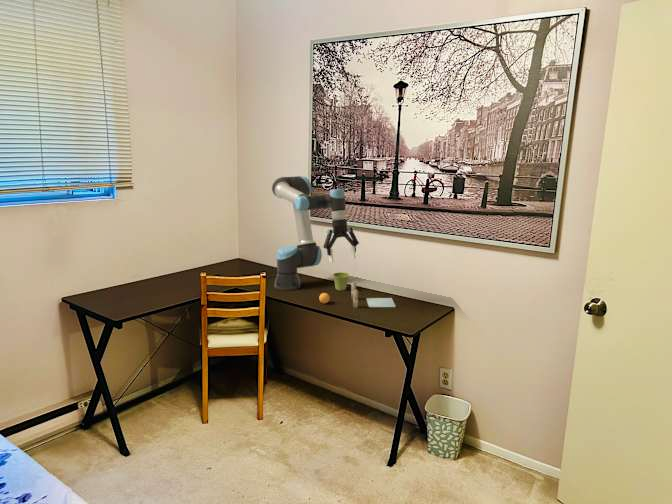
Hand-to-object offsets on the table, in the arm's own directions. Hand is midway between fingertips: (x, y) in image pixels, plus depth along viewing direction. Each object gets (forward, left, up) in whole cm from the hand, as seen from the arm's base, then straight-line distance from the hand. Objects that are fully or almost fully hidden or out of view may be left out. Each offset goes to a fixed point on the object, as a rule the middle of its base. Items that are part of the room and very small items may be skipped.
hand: (342, 260), depth 257 cm
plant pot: (-25, +1, -24) cm, 34 cm away
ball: (-1, -9, -21) cm, 23 cm away
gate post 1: (-7, +7, -24) cm, 26 cm away
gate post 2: (+6, +7, -24) cm, 25 cm away
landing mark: (-1, +21, -24) cm, 31 cm away
